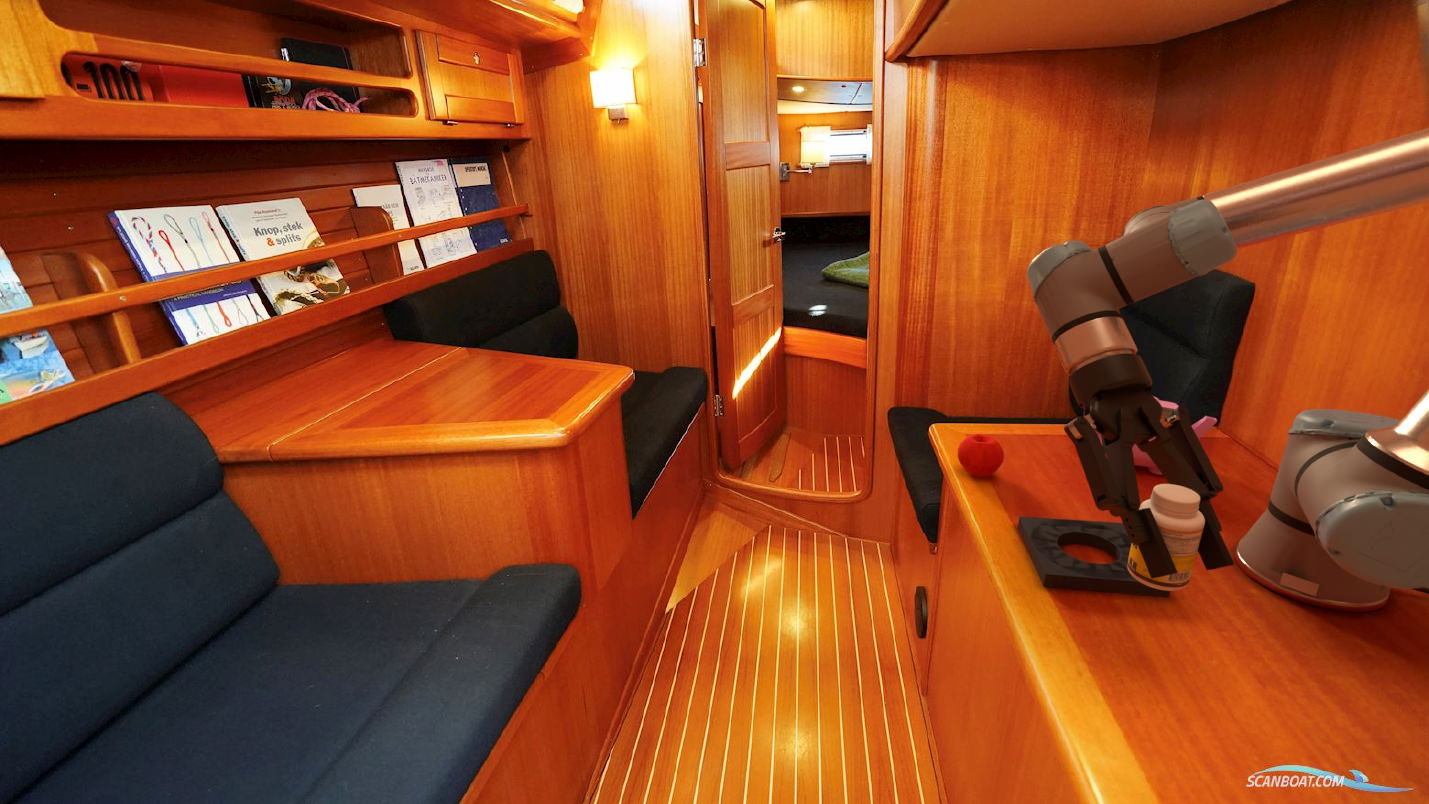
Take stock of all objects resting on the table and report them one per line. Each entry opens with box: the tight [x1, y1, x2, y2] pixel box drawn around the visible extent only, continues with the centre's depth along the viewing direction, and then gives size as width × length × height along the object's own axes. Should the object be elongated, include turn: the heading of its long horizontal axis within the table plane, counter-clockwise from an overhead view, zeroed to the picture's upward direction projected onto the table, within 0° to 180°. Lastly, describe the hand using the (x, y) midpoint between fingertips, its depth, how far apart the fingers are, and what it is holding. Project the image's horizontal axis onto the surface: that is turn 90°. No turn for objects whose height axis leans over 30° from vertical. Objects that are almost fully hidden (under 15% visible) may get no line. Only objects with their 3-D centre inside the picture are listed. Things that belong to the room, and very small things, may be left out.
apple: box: [957, 433, 1005, 478], centre depth 115 cm, size 8×8×7 cm
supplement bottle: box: [1127, 483, 1205, 592], centre depth 66 cm, size 6×6×10 cm
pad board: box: [1017, 515, 1171, 598], centre depth 91 cm, size 15×15×2 cm
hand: (1192, 571), depth 63 cm, fingers closed on supplement bottle, 6 cm apart
